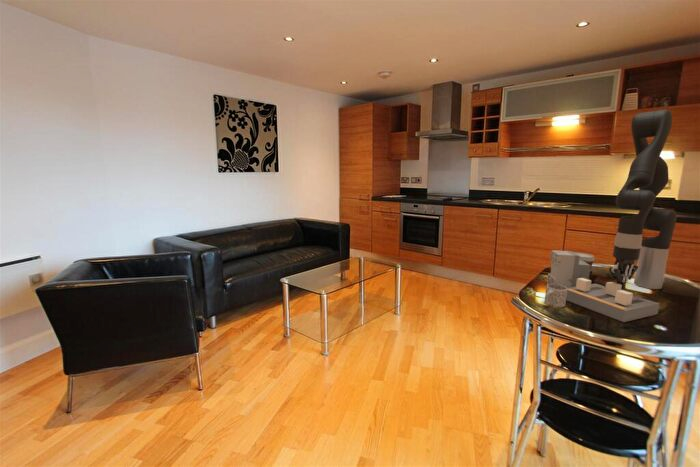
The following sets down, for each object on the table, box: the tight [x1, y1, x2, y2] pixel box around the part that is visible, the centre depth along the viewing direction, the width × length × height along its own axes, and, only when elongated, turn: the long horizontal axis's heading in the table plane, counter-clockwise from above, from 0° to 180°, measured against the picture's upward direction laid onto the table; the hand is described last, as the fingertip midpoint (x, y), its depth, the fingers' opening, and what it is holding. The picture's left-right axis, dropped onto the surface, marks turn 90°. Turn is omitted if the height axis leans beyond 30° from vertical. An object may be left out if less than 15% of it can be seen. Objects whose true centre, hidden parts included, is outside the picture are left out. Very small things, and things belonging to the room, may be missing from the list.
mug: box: [544, 284, 567, 308], centre depth 127 cm, size 10×7×7 cm, turn 121°
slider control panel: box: [566, 283, 661, 323], centre depth 127 cm, size 18×22×4 cm
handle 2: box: [614, 290, 634, 306], centre depth 118 cm, size 3×4×4 cm
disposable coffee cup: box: [575, 252, 596, 271], centre depth 154 cm, size 10×10×12 cm
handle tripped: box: [605, 281, 622, 296], centre depth 127 cm, size 3×4×4 cm
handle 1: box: [575, 278, 592, 292], centre depth 131 cm, size 3×4×4 cm
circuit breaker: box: [546, 249, 593, 288], centre depth 145 cm, size 8×14×15 cm, turn 78°
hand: (619, 290), depth 128 cm, fingers closed
